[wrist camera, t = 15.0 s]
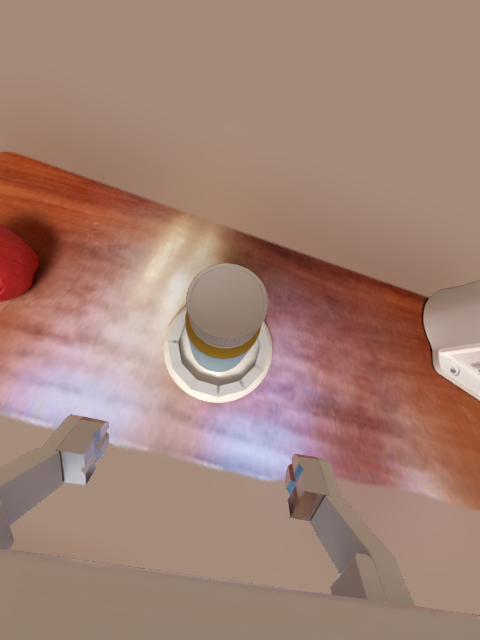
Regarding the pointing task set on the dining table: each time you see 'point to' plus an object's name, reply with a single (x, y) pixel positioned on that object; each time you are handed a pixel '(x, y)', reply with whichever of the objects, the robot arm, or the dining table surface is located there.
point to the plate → (210, 382)
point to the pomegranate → (15, 265)
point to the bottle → (224, 315)
